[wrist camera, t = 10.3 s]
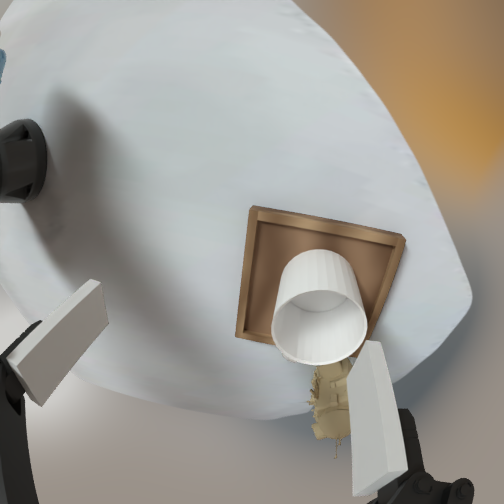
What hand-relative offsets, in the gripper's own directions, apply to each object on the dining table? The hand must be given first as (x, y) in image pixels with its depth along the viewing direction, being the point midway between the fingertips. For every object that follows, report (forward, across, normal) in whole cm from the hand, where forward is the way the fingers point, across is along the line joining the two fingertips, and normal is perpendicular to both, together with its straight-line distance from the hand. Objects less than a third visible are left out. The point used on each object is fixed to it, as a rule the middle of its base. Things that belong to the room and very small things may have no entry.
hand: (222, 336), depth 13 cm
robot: (+21, +14, -24) cm, 35 cm away
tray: (+22, +7, -9) cm, 24 cm away
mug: (+20, +6, -9) cm, 23 cm away
